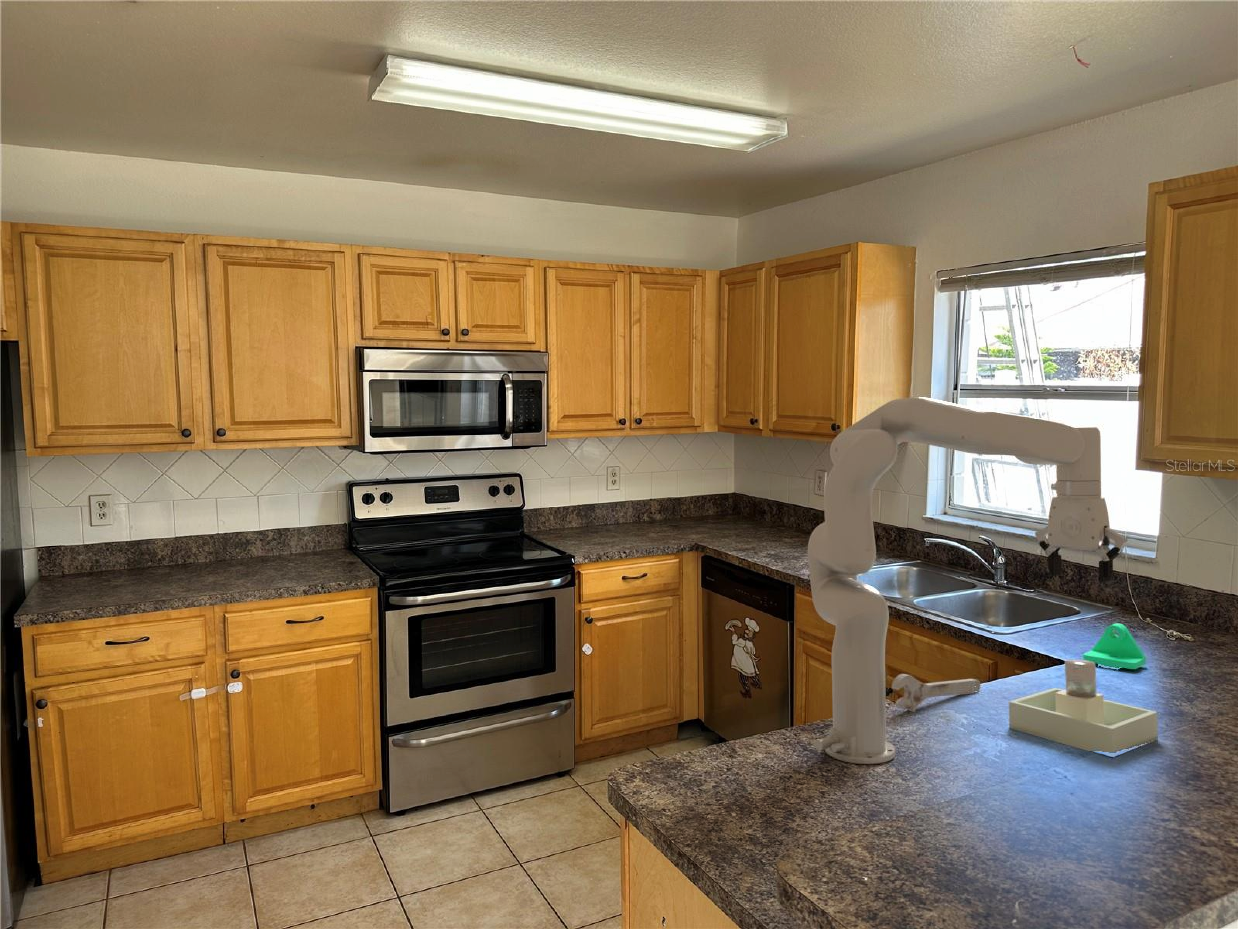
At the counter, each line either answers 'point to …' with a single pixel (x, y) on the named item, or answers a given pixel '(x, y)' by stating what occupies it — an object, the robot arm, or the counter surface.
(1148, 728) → the crate
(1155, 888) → the counter surface
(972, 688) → the wrench
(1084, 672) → the tea tin
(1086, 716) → the flour box
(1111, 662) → the camera mount
